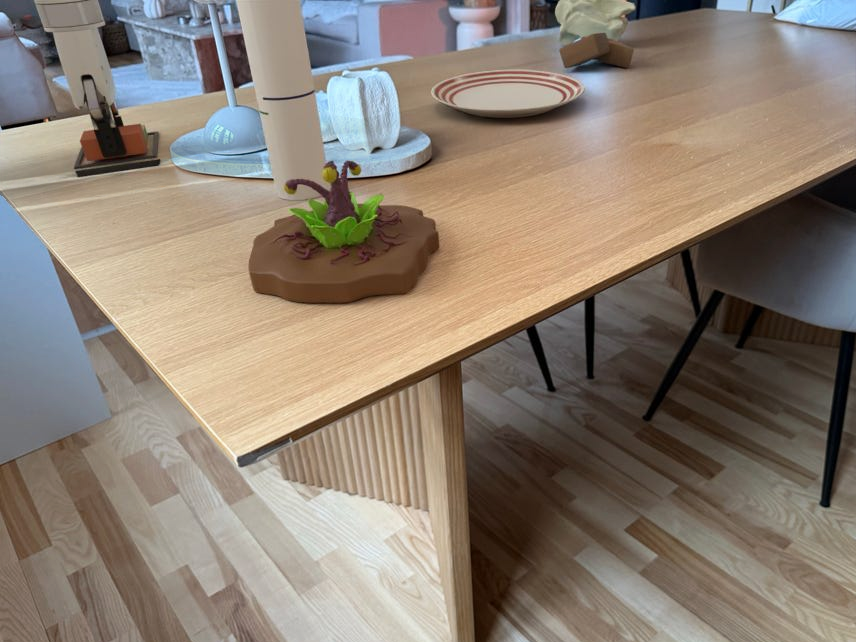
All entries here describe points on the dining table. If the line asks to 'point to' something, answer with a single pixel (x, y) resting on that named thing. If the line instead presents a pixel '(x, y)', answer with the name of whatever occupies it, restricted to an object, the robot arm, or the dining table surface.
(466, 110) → the dinner plate
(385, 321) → the dining table surface
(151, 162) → the frame tray
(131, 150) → the terracotta pad
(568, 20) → the wavy plaster lump
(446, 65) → the dining table surface
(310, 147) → the cylindrical container
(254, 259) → the plant
